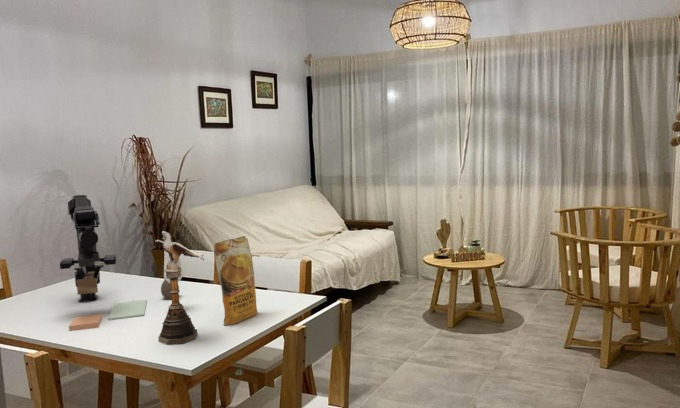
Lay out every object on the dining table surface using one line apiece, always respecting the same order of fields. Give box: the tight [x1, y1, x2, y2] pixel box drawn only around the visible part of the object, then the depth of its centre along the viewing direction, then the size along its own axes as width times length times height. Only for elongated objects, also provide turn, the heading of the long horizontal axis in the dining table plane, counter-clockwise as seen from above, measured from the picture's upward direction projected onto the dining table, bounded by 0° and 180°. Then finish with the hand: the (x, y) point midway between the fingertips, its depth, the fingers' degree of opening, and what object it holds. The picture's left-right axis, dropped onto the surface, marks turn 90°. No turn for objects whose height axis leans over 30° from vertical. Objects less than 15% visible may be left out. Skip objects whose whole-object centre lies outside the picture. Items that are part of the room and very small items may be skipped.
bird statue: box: [154, 230, 205, 346], centre depth 176 cm, size 17×13×35 cm
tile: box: [68, 313, 103, 332], centre depth 193 cm, size 2×9×10 cm
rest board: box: [108, 299, 148, 321], centre depth 208 cm, size 20×12×1 cm, turn 17°
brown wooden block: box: [76, 271, 99, 296], centre depth 202 cm, size 13×6×5 cm, turn 16°
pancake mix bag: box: [213, 235, 258, 326], centre depth 191 cm, size 7×19×28 cm, turn 146°
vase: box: [160, 278, 180, 300], centre depth 222 cm, size 7×7×9 cm
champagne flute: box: [163, 249, 186, 313], centre depth 205 cm, size 7×7×24 cm
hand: (91, 284), depth 204 cm, fingers closed on brown wooden block, 3 cm apart
